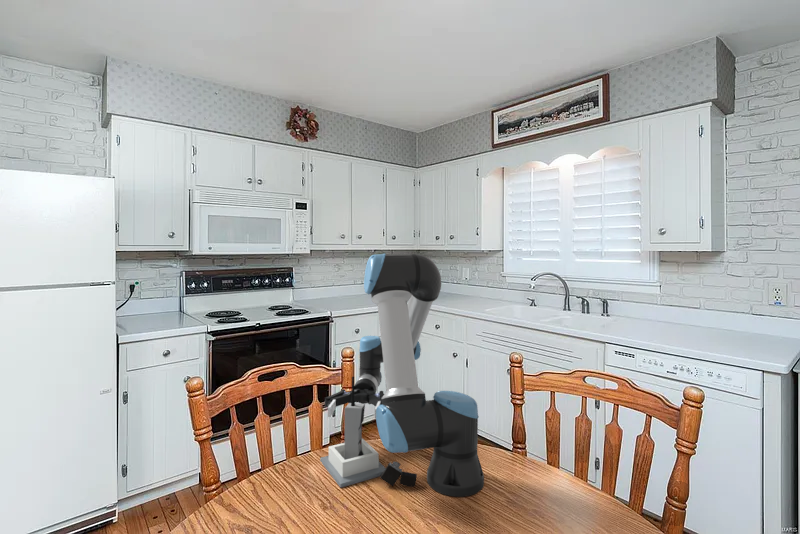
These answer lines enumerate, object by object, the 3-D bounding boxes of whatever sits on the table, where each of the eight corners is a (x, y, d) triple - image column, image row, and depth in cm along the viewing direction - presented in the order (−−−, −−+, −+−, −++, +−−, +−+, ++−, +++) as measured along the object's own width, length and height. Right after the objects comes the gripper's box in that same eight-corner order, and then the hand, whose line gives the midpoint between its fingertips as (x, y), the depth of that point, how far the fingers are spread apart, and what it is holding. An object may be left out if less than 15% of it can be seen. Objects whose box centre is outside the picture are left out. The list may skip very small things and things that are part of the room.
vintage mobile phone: (361, 467, 114) (361, 378, 114) (344, 466, 115) (344, 378, 115) (364, 461, 118) (365, 375, 117) (348, 459, 119) (348, 374, 118)
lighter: (408, 491, 109) (419, 474, 109) (408, 496, 107) (420, 478, 107) (380, 473, 109) (392, 456, 109) (380, 478, 107) (392, 460, 107)
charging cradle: (388, 473, 113) (388, 454, 113) (340, 487, 106) (340, 467, 106) (363, 450, 127) (363, 433, 127) (320, 461, 120) (320, 443, 120)
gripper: (402, 401, 136) (396, 428, 115) (328, 398, 138) (309, 424, 117) (402, 379, 136) (396, 401, 115) (328, 376, 138) (309, 398, 117)
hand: (352, 413), depth 116 cm, fingers open, 13 cm apart
